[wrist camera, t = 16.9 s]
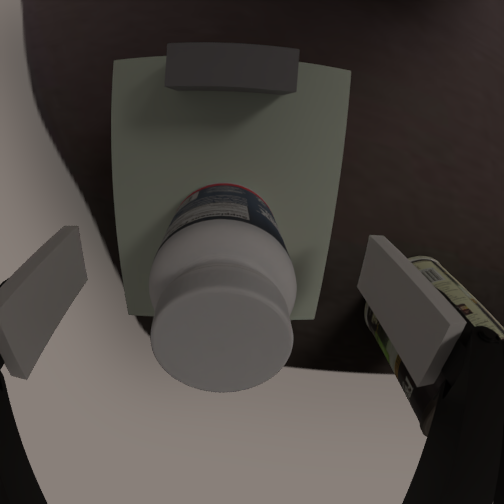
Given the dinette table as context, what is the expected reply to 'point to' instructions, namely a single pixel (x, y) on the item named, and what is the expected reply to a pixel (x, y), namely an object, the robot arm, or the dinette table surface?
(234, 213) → the pill bottle
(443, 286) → the coffee can
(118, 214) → the lid
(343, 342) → the dinette table surface
